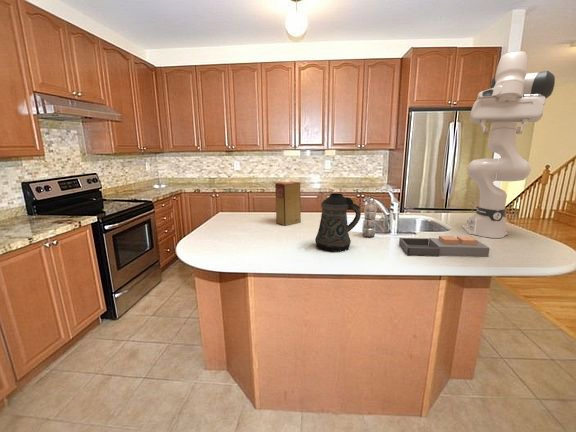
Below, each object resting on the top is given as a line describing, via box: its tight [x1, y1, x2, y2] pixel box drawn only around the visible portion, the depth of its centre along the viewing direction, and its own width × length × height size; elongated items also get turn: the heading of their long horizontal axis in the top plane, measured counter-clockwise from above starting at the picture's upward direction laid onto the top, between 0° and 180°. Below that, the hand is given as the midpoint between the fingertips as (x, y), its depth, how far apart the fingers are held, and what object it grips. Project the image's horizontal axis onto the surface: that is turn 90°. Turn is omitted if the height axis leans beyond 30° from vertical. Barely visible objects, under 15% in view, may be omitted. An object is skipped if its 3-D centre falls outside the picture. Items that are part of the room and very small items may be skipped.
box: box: [398, 237, 440, 257], centre depth 132 cm, size 14×13×4 cm
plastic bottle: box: [362, 197, 378, 237], centre depth 152 cm, size 6×7×20 cm
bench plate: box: [428, 237, 490, 258], centre depth 130 cm, size 12×20×4 cm, turn 84°
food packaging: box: [274, 181, 302, 227], centre depth 180 cm, size 13×9×25 cm
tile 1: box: [438, 235, 459, 245], centre depth 130 cm, size 6×6×2 cm
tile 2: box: [455, 235, 479, 245], centre depth 129 cm, size 6×6×2 cm
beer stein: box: [315, 192, 362, 253], centre depth 137 cm, size 16×19×25 cm
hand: (501, 133), depth 100 cm, fingers open, 8 cm apart
